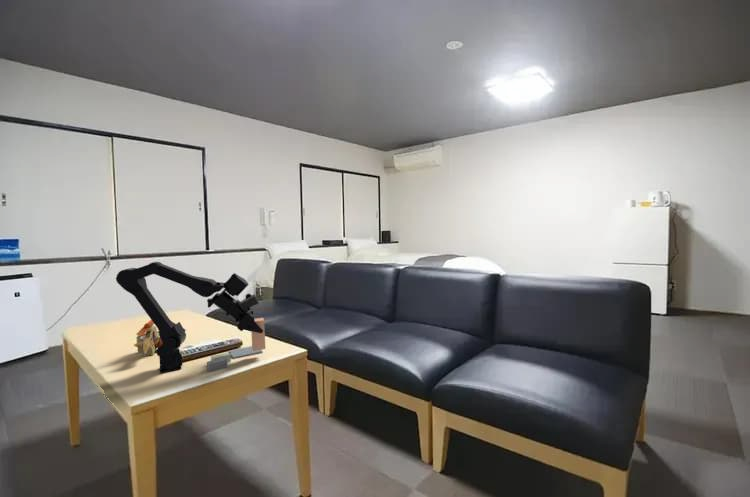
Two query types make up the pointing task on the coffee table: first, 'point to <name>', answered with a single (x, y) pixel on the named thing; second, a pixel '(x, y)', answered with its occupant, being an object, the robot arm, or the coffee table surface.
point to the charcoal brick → (217, 364)
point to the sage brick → (225, 355)
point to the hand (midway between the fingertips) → (261, 330)
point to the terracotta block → (258, 336)
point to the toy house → (148, 339)
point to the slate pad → (243, 352)
